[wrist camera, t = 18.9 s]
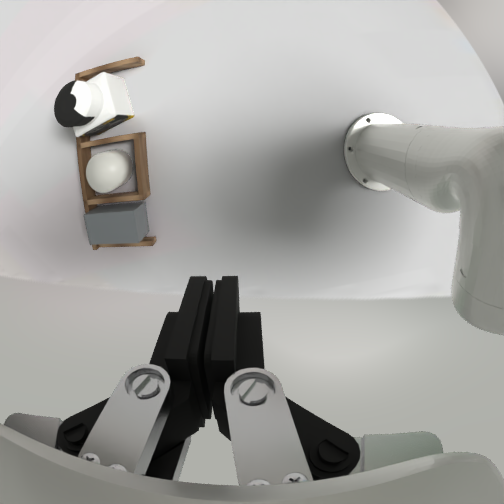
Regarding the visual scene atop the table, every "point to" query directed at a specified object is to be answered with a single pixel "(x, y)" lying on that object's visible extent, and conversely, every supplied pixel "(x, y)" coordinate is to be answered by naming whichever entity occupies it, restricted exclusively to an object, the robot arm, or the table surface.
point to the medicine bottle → (93, 104)
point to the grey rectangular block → (117, 223)
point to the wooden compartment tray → (85, 143)
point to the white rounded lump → (109, 170)
